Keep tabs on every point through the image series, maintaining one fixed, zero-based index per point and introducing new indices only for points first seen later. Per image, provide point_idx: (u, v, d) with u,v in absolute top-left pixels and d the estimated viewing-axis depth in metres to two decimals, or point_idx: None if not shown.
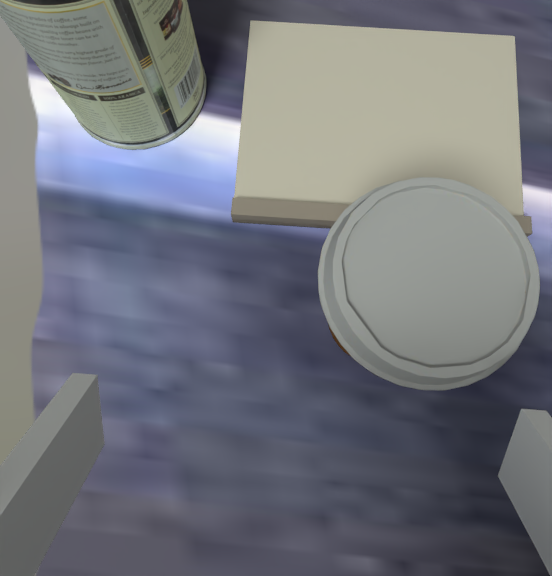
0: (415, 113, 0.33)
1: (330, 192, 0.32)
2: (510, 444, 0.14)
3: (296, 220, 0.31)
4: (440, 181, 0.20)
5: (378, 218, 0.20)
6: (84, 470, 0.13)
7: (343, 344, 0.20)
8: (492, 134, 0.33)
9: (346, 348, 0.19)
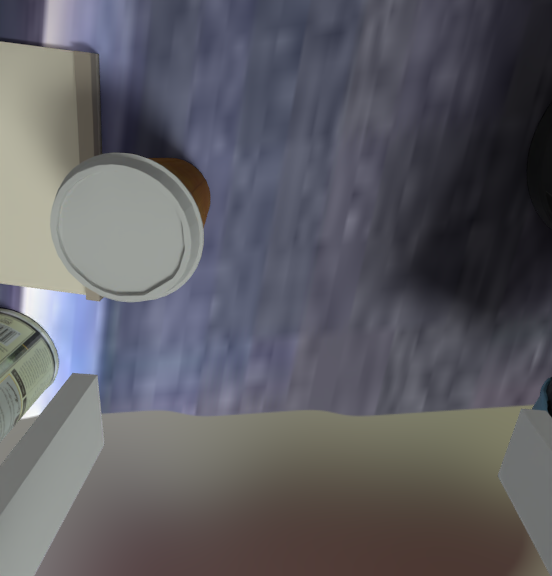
0: None
1: None
2: (510, 444, 0.14)
3: None
4: (53, 225, 0.27)
5: (86, 266, 0.29)
6: (83, 470, 0.13)
7: (175, 289, 0.30)
8: None
9: (177, 288, 0.30)
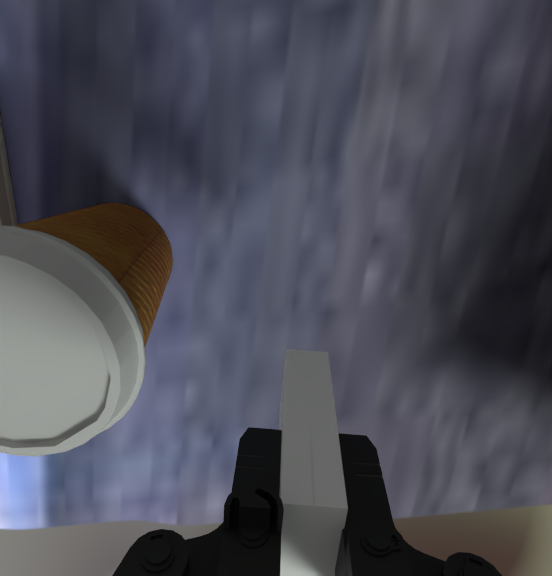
0: None
1: None
2: None
3: None
4: None
5: None
6: None
7: (108, 425, 0.19)
8: None
9: (111, 424, 0.19)
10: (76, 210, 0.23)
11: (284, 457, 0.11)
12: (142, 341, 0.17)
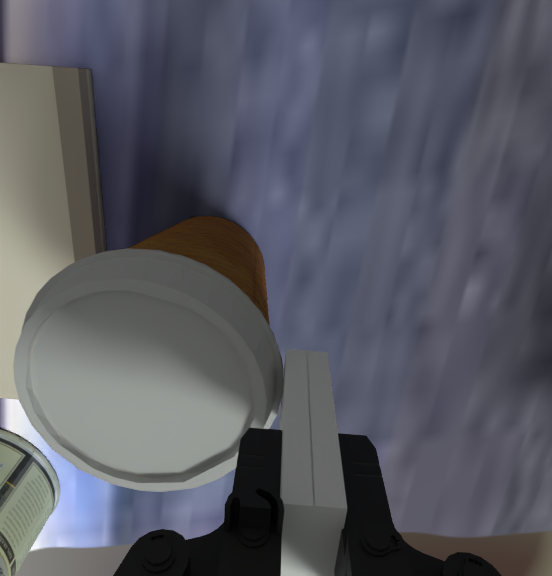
0: None
1: None
2: None
3: None
4: (19, 380, 0.15)
5: (83, 438, 0.17)
6: None
7: None
8: None
9: None
10: (178, 225, 0.22)
11: (285, 457, 0.11)
12: (282, 372, 0.16)
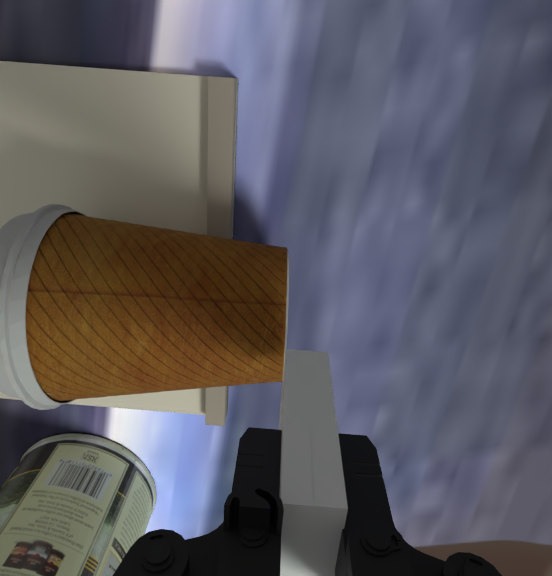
0: None
1: None
2: None
3: None
4: None
5: None
6: None
7: None
8: (80, 110, 0.23)
9: None
10: (224, 238, 0.21)
11: (284, 457, 0.11)
12: (2, 347, 0.17)
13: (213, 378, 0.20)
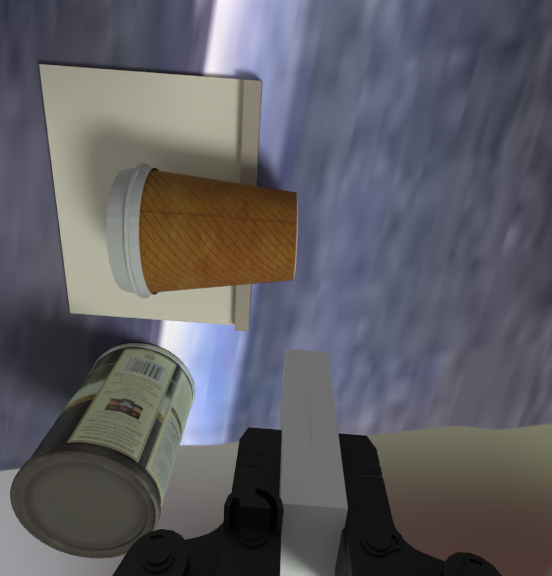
0: None
1: None
2: None
3: None
4: None
5: None
6: None
7: (138, 294, 0.31)
8: (156, 102, 0.34)
9: None
10: None
11: (284, 457, 0.11)
12: (125, 245, 0.28)
13: (249, 273, 0.31)
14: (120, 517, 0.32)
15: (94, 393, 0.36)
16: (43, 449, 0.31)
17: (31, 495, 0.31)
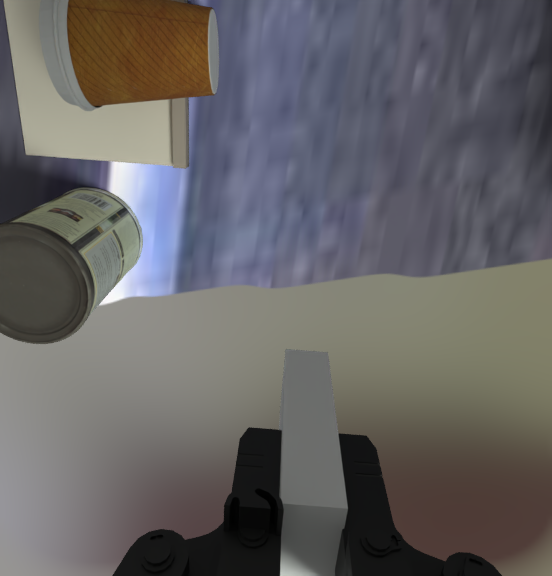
0: None
1: None
2: None
3: (186, 119, 0.43)
4: None
5: None
6: None
7: (72, 96, 0.36)
8: None
9: (70, 94, 0.35)
10: None
11: (284, 457, 0.11)
12: (54, 33, 0.32)
13: (169, 74, 0.35)
14: (57, 297, 0.36)
15: (40, 206, 0.40)
16: None
17: None
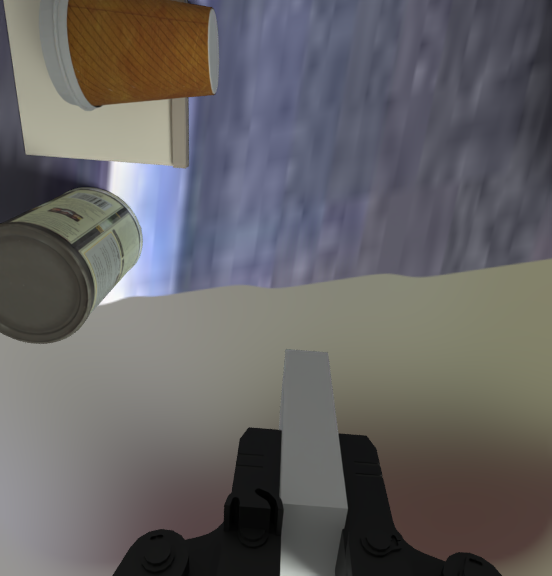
0: None
1: None
2: None
3: (185, 119, 0.43)
4: None
5: None
6: None
7: (72, 96, 0.36)
8: None
9: (70, 94, 0.35)
10: None
11: (284, 457, 0.11)
12: (54, 33, 0.32)
13: (169, 74, 0.35)
14: (57, 297, 0.36)
15: (40, 206, 0.40)
16: None
17: None
